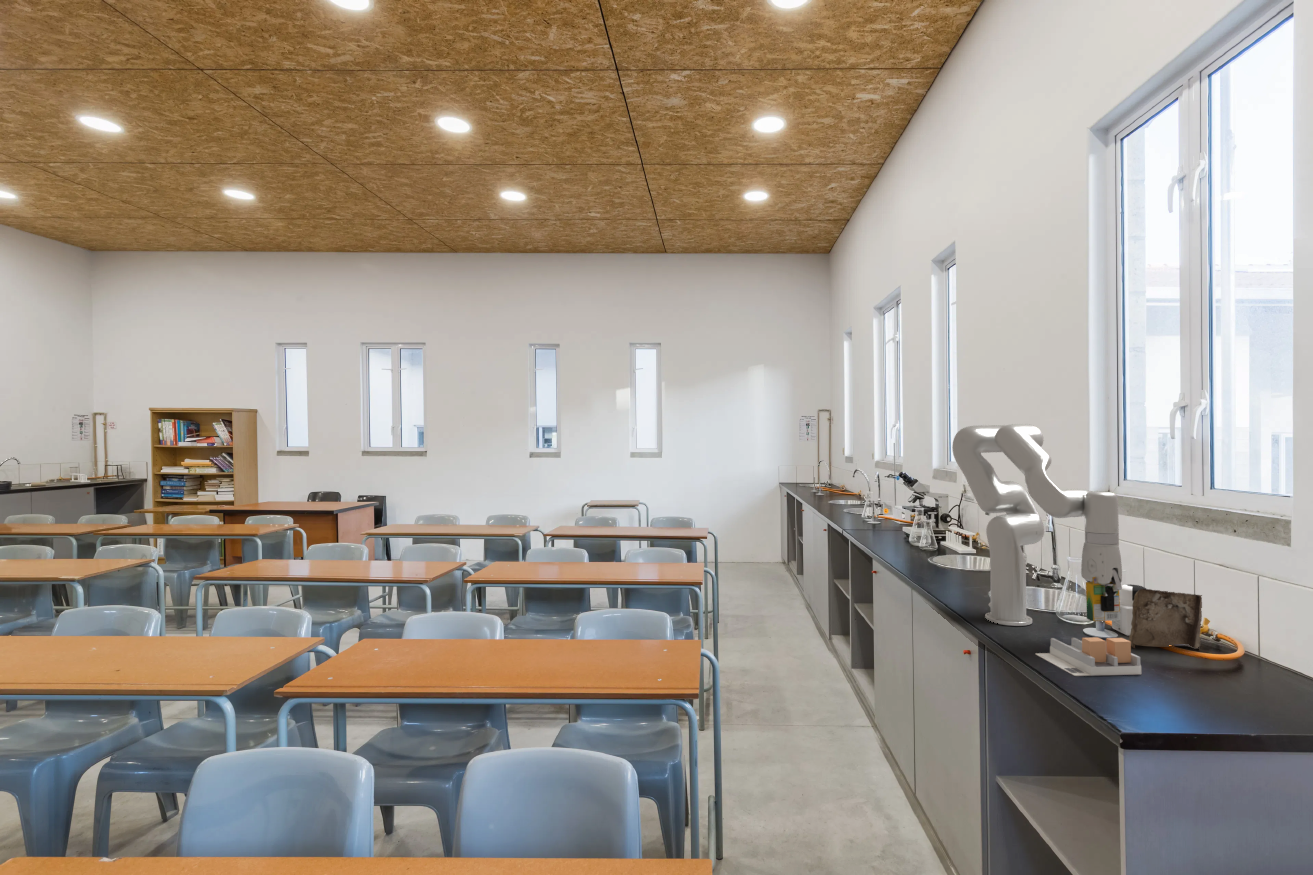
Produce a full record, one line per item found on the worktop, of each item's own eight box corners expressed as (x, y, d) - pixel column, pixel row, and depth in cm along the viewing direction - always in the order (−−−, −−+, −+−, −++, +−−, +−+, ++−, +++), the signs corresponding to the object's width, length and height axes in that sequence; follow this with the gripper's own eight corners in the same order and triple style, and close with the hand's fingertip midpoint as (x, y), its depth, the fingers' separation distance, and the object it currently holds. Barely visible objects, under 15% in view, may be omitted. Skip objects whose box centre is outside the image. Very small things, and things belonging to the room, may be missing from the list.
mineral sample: (1132, 648, 183) (1132, 590, 183) (1124, 644, 187) (1124, 586, 187) (1204, 651, 181) (1204, 591, 181) (1195, 646, 185) (1194, 588, 185)
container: (1140, 628, 201) (1139, 582, 201) (1156, 636, 194) (1156, 588, 194) (1111, 628, 202) (1111, 582, 202) (1126, 635, 194) (1126, 588, 194)
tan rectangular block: (1082, 658, 169) (1081, 637, 169) (1097, 657, 169) (1097, 637, 169) (1090, 662, 166) (1090, 641, 166) (1106, 661, 166) (1105, 640, 166)
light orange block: (1106, 658, 168) (1106, 638, 168) (1122, 658, 169) (1121, 637, 169) (1115, 662, 165) (1114, 641, 165) (1130, 662, 166) (1130, 641, 166)
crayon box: (1113, 617, 187) (1112, 573, 187) (1120, 620, 184) (1119, 576, 184) (1086, 618, 186) (1085, 574, 186) (1093, 621, 183) (1092, 576, 183)
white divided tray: (1035, 654, 180) (1035, 638, 180) (1096, 652, 180) (1096, 637, 180) (1074, 675, 164) (1074, 658, 164) (1141, 674, 164) (1141, 657, 164)
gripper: (1068, 535, 193) (1069, 602, 193) (1108, 543, 177) (1110, 617, 177) (1095, 534, 193) (1096, 601, 193) (1138, 543, 177) (1139, 616, 177)
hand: (1102, 608), depth 185 cm, fingers closed on crayon box, 3 cm apart
